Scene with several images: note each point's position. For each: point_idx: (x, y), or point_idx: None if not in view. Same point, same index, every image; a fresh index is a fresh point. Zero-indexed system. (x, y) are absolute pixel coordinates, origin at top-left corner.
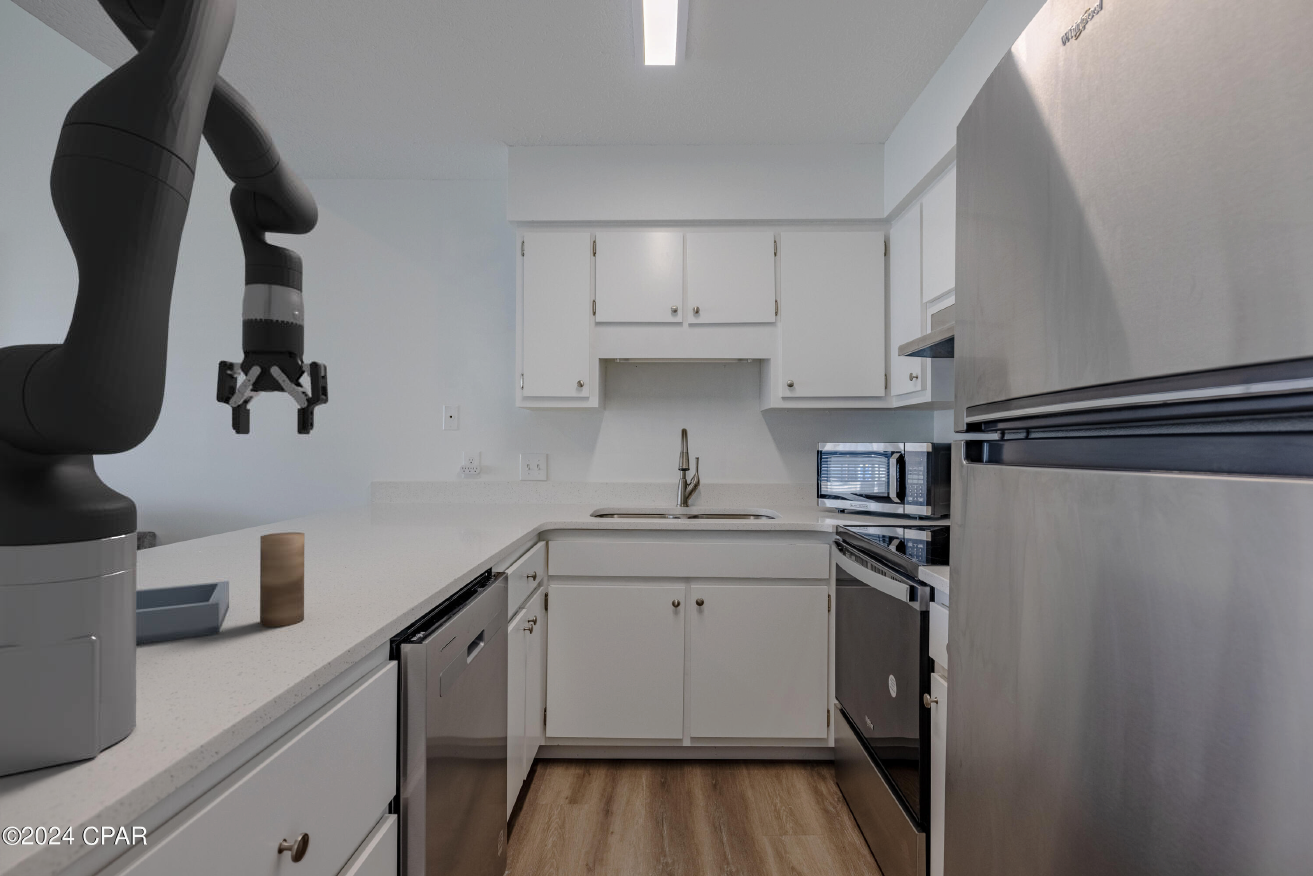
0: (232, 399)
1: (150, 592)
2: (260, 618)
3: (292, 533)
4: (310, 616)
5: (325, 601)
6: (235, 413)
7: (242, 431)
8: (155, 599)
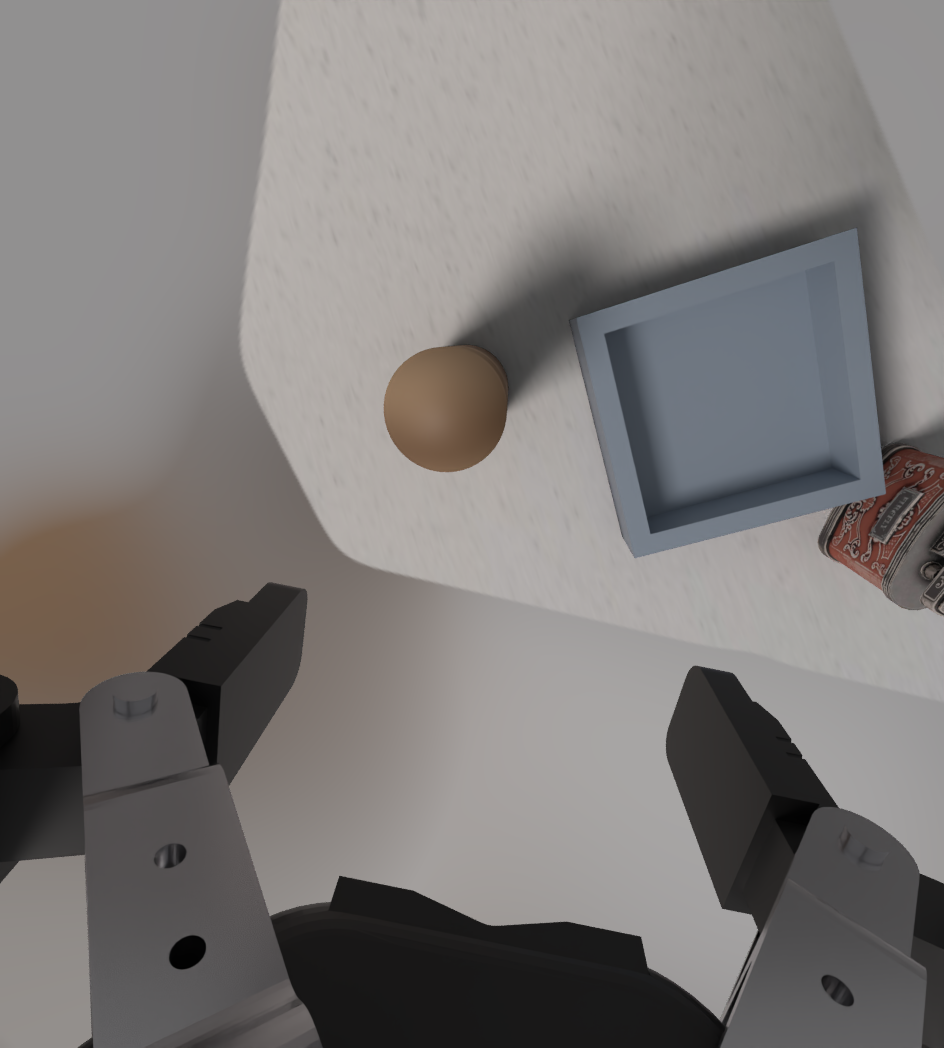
0: (899, 875)
1: (786, 496)
2: (502, 367)
3: (427, 445)
4: None
5: (426, 541)
6: (792, 767)
7: (690, 689)
8: (768, 495)
